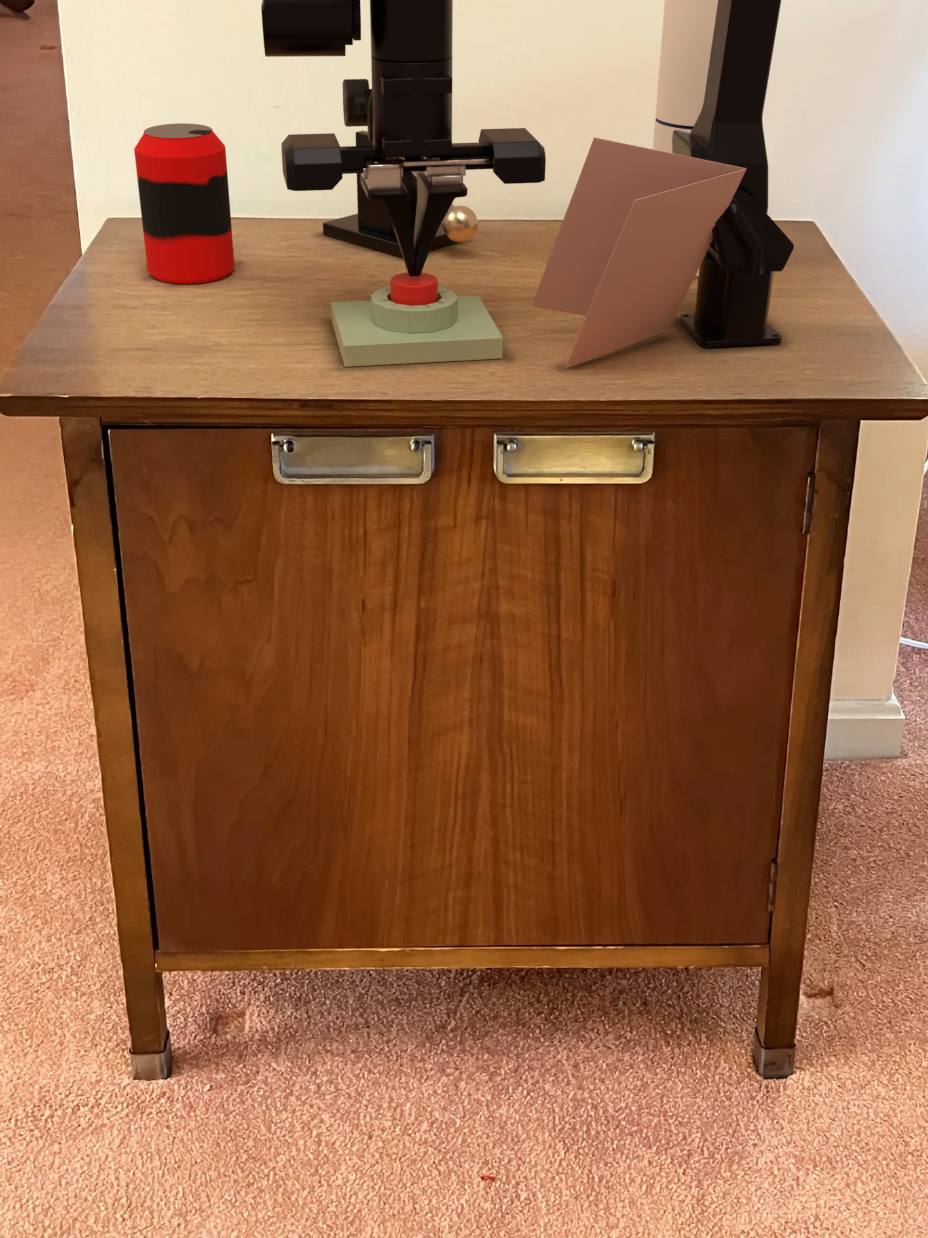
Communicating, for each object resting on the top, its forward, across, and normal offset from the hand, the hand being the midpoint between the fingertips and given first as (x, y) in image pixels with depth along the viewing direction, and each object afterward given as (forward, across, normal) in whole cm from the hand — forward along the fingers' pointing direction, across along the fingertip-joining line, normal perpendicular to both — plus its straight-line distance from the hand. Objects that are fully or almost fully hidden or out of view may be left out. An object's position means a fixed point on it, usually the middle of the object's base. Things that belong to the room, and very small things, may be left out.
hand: (413, 275), depth 104 cm
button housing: (+5, 0, 0) cm, 5 cm away
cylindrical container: (+5, -27, -16) cm, 32 cm away
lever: (+1, -4, -25) cm, 26 cm away
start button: (+2, 0, 0) cm, 2 cm away
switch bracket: (+5, -2, -28) cm, 29 cm away
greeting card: (+5, -14, +4) cm, 16 cm away
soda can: (+5, +17, -20) cm, 27 cm away
